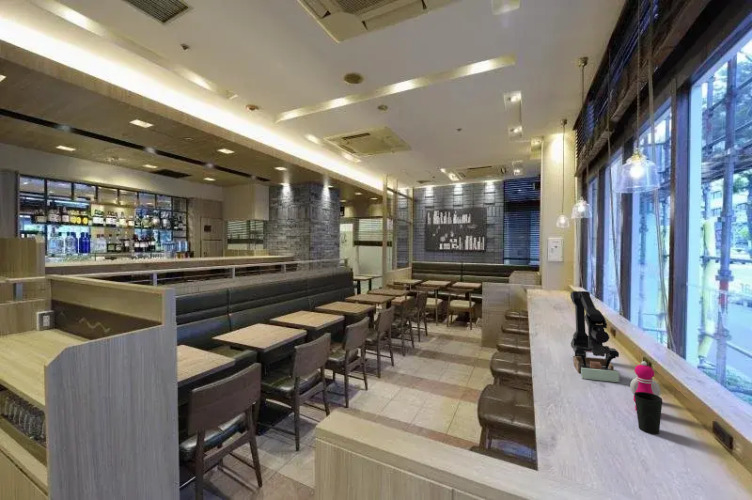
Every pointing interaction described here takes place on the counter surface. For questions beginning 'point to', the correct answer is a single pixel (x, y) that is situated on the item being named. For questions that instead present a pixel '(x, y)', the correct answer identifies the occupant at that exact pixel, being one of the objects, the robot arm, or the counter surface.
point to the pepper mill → (644, 378)
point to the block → (595, 365)
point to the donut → (654, 387)
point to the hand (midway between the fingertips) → (595, 367)
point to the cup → (648, 411)
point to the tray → (599, 373)
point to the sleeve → (579, 361)
